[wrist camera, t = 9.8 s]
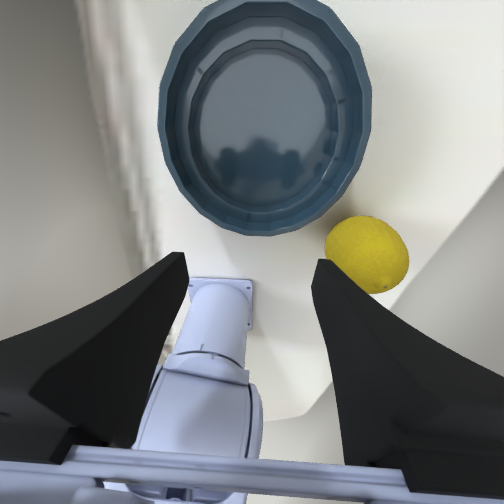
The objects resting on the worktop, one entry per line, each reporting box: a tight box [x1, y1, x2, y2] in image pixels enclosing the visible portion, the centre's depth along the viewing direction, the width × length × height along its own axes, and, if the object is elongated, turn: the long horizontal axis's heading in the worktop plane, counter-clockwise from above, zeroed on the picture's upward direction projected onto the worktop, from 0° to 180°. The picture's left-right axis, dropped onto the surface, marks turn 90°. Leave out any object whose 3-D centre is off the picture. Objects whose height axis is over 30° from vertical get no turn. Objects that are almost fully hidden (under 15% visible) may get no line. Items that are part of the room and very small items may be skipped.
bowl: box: [157, 0, 372, 236], centre depth 14 cm, size 13×13×4 cm
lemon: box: [325, 216, 409, 294], centre depth 16 cm, size 6×6×8 cm
